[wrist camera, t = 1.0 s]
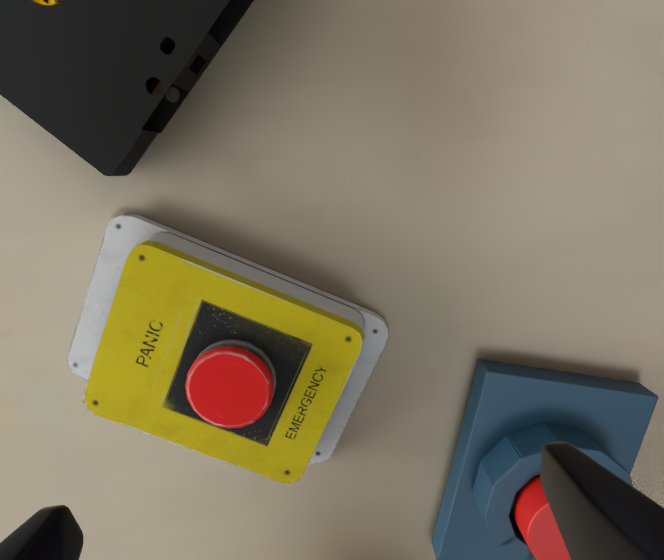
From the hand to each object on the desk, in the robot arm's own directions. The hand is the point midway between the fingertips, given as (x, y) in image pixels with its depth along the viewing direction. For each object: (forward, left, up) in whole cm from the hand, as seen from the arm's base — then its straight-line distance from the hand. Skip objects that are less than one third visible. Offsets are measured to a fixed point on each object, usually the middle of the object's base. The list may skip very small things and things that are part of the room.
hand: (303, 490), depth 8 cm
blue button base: (-14, -7, -15) cm, 22 cm away
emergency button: (-1, +6, -15) cm, 16 cm away
